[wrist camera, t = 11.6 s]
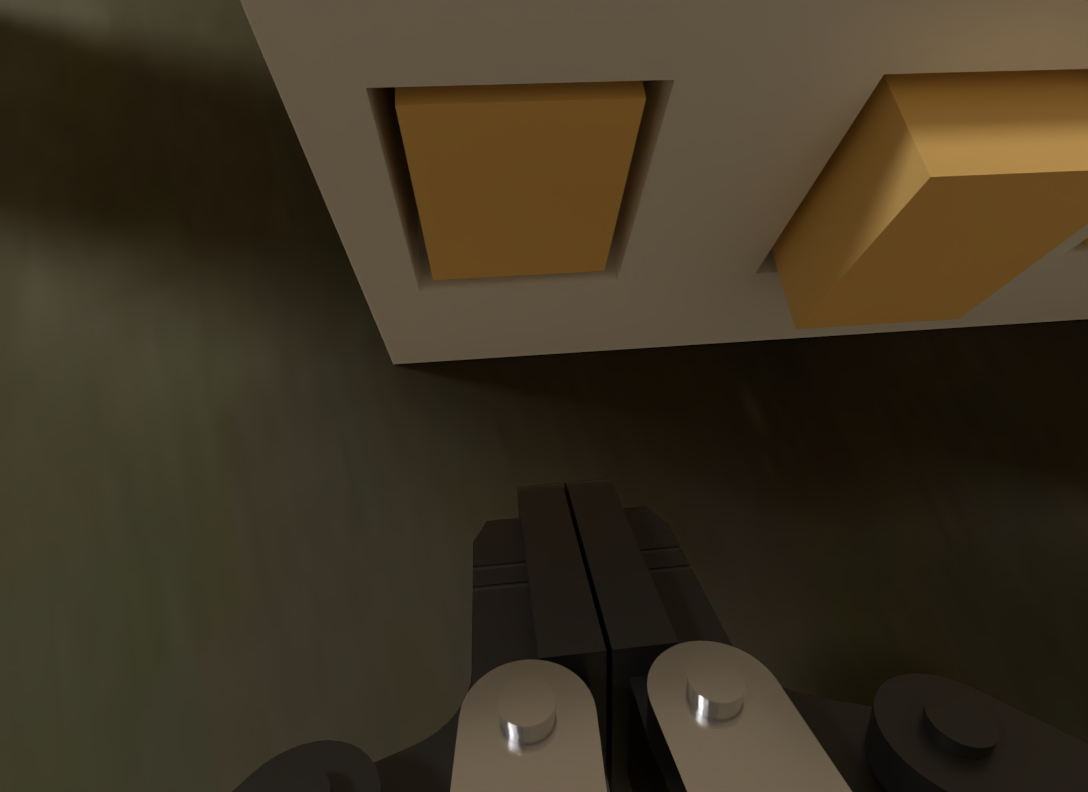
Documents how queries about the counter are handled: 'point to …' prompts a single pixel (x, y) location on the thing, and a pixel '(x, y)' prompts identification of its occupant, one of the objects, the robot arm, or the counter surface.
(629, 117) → the button
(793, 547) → the counter surface
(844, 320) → the middle button
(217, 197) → the counter surface
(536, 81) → the button console
